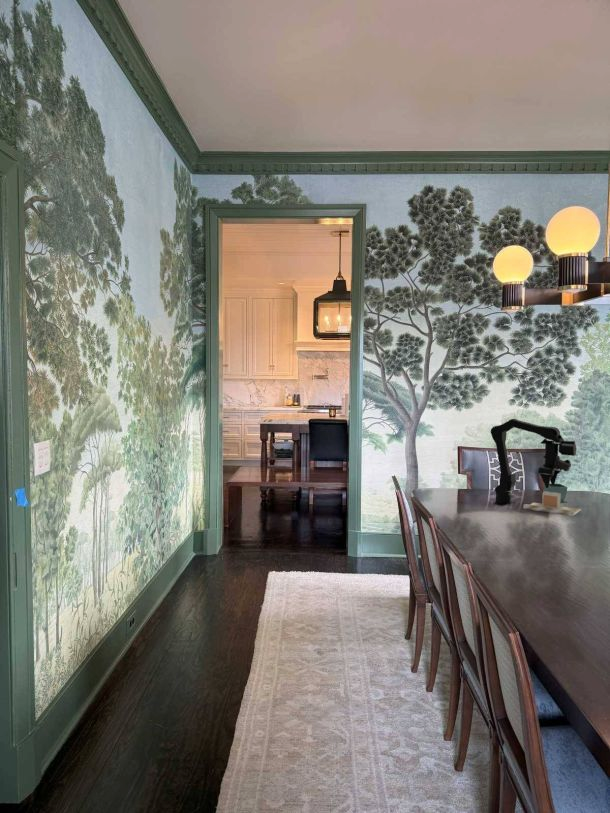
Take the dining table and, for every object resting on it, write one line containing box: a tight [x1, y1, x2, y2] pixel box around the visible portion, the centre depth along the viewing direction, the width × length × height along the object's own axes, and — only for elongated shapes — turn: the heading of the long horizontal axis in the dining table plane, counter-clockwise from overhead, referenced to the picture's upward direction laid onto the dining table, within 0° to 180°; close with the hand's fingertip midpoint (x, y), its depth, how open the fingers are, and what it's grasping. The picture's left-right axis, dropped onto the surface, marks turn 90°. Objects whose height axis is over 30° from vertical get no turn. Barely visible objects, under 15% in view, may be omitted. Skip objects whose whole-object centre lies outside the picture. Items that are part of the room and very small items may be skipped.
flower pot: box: [542, 483, 568, 503], centre depth 278 cm, size 9×9×9 cm
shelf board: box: [523, 502, 582, 517], centre depth 260 cm, size 22×16×3 cm
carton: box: [541, 491, 561, 509], centre depth 258 cm, size 4×7×8 cm, turn 51°
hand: (550, 486), depth 259 cm, fingers open, 9 cm apart
